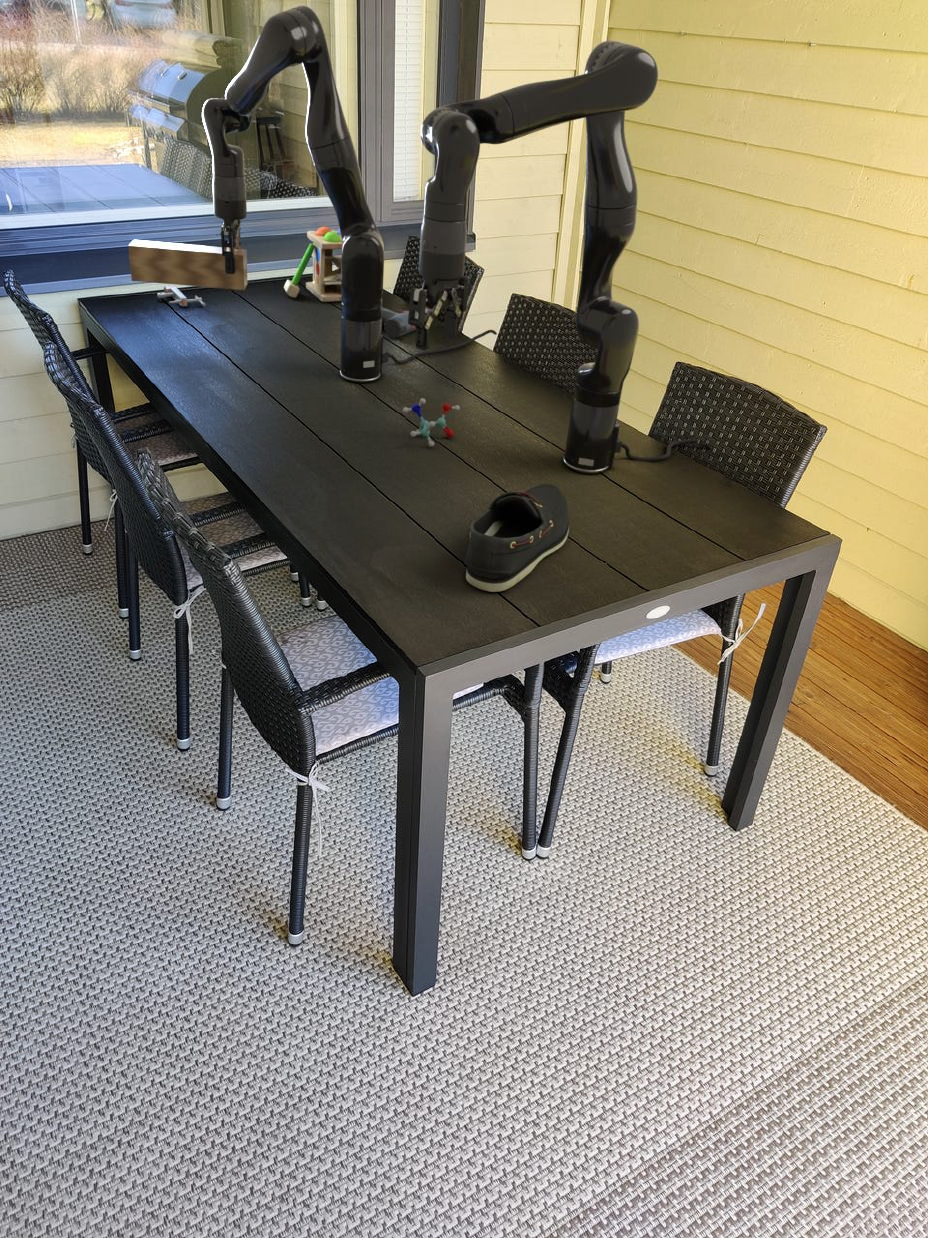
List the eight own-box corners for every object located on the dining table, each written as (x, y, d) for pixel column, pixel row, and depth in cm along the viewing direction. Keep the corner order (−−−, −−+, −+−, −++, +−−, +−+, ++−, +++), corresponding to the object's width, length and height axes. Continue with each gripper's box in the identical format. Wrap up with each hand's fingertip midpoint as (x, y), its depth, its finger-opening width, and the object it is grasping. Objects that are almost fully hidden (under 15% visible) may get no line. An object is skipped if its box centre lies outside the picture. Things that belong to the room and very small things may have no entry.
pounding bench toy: (292, 303, 272) (291, 236, 262) (277, 288, 282) (276, 223, 272) (370, 299, 281) (372, 234, 271) (352, 285, 292) (353, 221, 282)
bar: (247, 283, 241) (246, 249, 236) (244, 290, 236) (243, 255, 231) (137, 274, 238) (133, 239, 234) (131, 280, 234) (128, 245, 229)
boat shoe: (593, 526, 180) (600, 474, 174) (502, 598, 156) (507, 541, 151) (532, 507, 186) (537, 456, 180) (435, 574, 162) (438, 517, 156)
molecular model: (451, 439, 197) (435, 390, 196) (410, 454, 201) (394, 406, 199) (469, 435, 207) (454, 389, 206) (430, 449, 211) (415, 404, 210)
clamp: (153, 286, 267) (189, 284, 272) (153, 294, 268) (189, 292, 273) (168, 303, 257) (206, 300, 261) (169, 311, 258) (206, 308, 263)
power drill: (380, 308, 276) (439, 325, 268) (339, 322, 262) (400, 341, 254) (381, 288, 273) (441, 305, 265) (339, 302, 259) (401, 320, 251)
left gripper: (218, 187, 232) (221, 260, 242) (207, 200, 220) (211, 276, 230) (250, 190, 233) (252, 263, 242) (241, 203, 221) (243, 279, 230)
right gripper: (437, 258, 154) (430, 358, 163) (485, 243, 164) (476, 339, 173) (398, 248, 157) (394, 347, 166) (448, 234, 167) (441, 328, 176)
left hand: (232, 269), depth 236 cm, fingers closed on bar, 5 cm apart
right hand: (436, 343), depth 169 cm, fingers open, 8 cm apart
